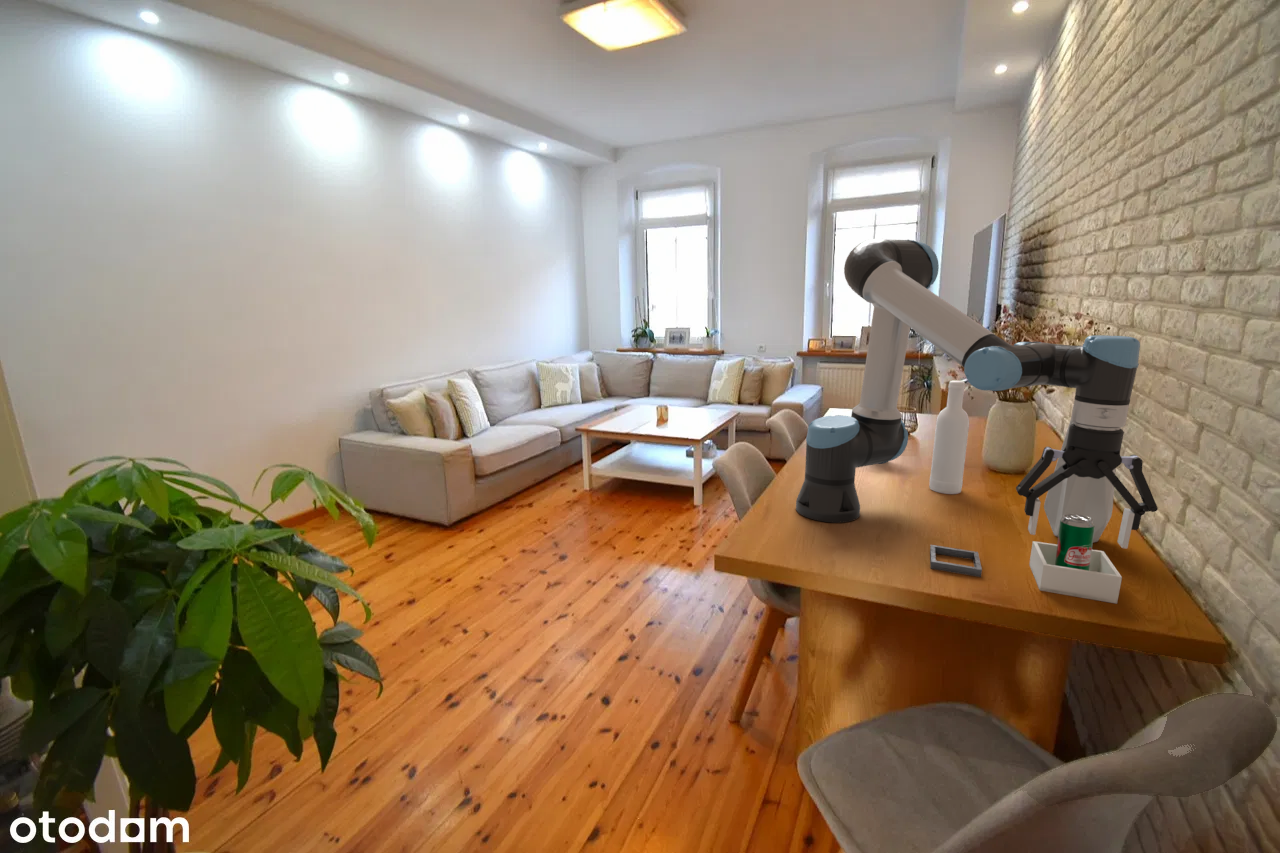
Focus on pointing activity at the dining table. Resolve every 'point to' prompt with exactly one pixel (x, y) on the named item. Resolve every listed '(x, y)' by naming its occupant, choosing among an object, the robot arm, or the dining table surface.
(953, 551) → the socket ring
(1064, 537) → the soda can
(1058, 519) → the vase
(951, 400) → the bottle
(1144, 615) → the dining table surface
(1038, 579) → the bin
